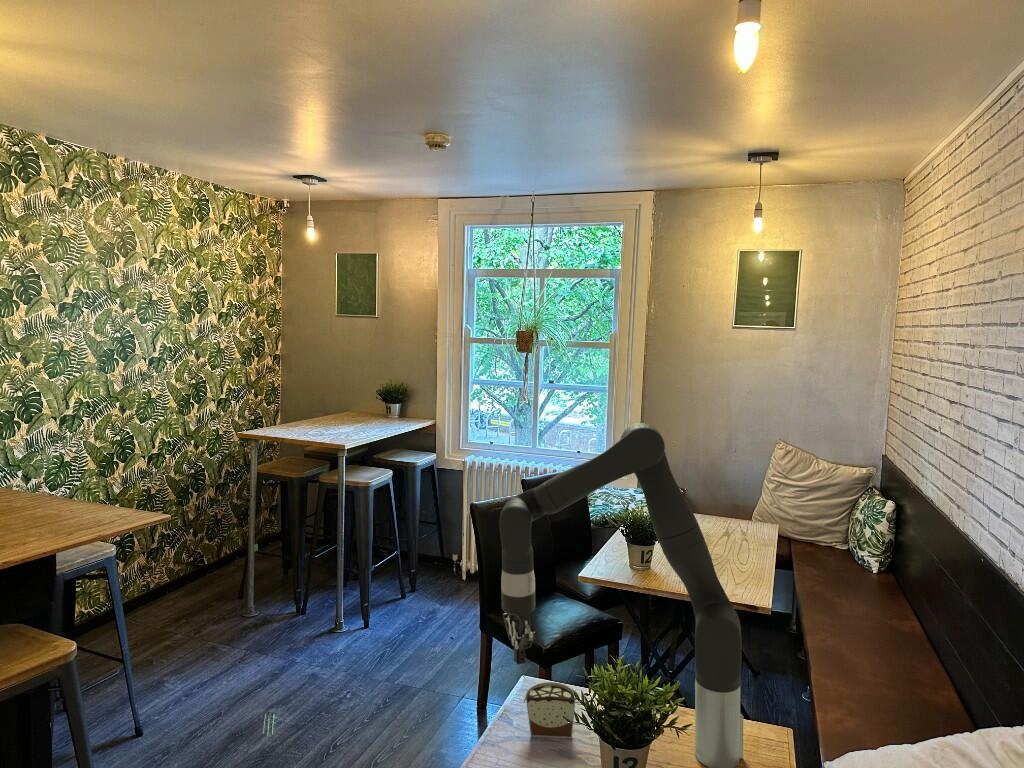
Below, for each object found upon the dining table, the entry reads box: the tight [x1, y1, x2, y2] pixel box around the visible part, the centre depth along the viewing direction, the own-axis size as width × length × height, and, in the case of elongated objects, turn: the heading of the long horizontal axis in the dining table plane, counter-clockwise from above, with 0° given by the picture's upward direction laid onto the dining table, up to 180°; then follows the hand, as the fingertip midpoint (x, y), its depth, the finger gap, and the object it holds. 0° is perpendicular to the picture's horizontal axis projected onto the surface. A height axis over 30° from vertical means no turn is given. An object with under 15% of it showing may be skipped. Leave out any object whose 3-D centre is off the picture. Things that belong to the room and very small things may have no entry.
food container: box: [523, 681, 579, 739], centre depth 152 cm, size 12×6×10 cm, turn 84°
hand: (519, 662), depth 147 cm, fingers closed
